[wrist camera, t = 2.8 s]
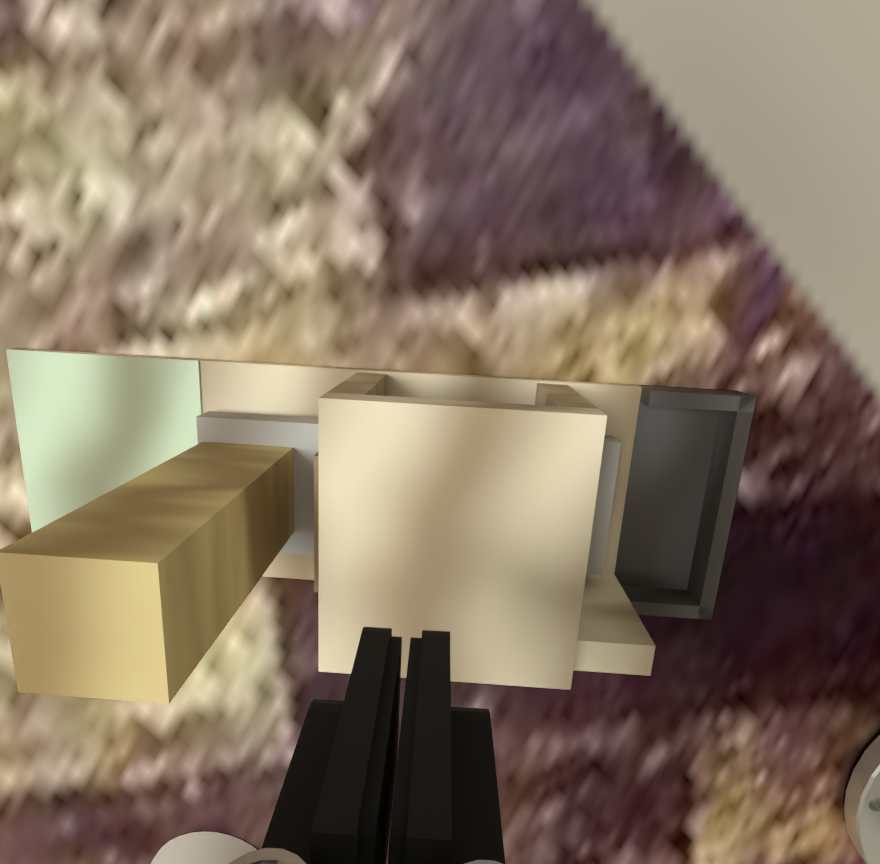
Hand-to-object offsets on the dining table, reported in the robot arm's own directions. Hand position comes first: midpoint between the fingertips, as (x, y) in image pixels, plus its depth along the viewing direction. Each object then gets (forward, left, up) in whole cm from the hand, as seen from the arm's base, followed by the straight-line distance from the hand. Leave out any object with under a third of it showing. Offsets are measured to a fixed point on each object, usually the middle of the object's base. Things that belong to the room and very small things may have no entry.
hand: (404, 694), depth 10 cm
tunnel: (+3, 0, -13) cm, 13 cm away
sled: (+1, 0, -12) cm, 12 cm away
